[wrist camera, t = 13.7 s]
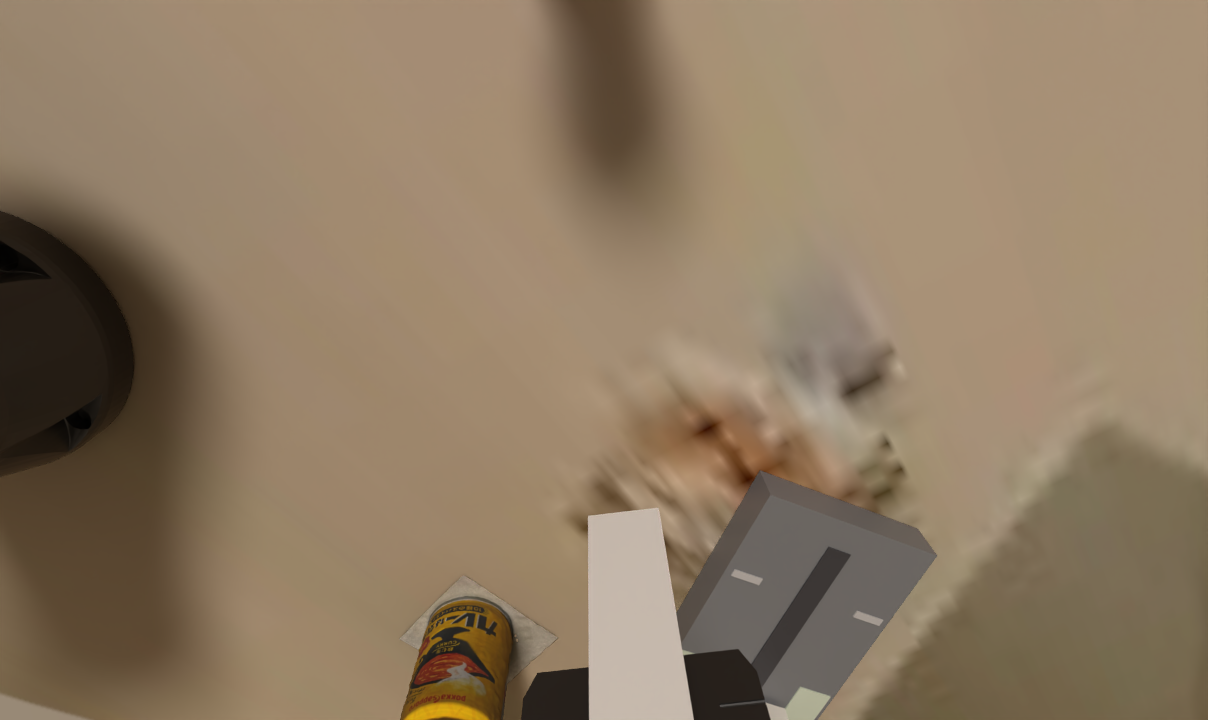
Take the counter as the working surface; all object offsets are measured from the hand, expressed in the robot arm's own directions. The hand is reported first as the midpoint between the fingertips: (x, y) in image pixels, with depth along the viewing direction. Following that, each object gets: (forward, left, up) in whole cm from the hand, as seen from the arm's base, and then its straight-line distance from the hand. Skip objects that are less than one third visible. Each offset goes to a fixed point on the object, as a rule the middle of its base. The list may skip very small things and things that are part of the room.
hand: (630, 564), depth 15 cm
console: (+6, -31, -26) cm, 41 cm away
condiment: (-12, -26, -27) cm, 39 cm away
